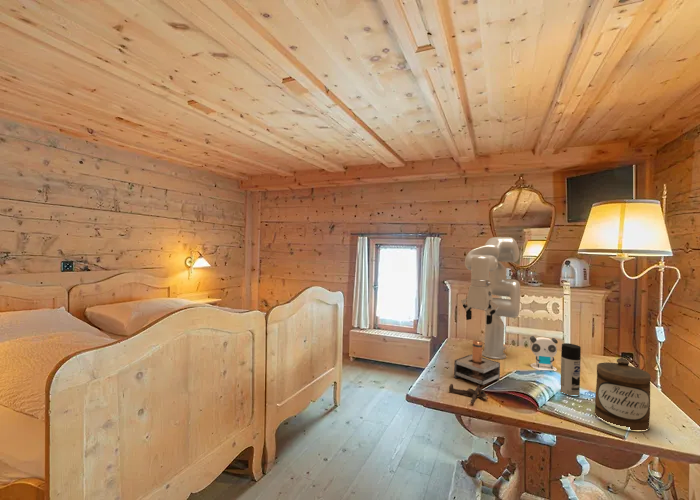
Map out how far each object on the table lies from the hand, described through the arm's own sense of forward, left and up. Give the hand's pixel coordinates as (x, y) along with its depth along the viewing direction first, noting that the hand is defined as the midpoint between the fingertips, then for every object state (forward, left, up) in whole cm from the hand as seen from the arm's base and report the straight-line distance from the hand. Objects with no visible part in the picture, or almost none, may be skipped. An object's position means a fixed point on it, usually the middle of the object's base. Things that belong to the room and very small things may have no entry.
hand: (478, 321), depth 151 cm
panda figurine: (-41, +12, -26) cm, 50 cm away
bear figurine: (+18, +7, -27) cm, 33 cm away
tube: (0, 0, -26) cm, 26 cm away
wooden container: (-8, +50, -26) cm, 57 cm away
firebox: (0, 0, -26) cm, 26 cm away
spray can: (-18, +31, -26) cm, 44 cm away
